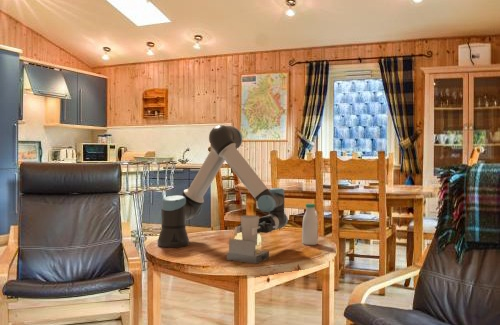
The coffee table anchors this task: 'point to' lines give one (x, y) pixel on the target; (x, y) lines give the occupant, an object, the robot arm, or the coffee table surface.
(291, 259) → the coffee table surface
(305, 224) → the milk bottle
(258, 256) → the grey holder block
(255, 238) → the cup
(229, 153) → the robot arm
